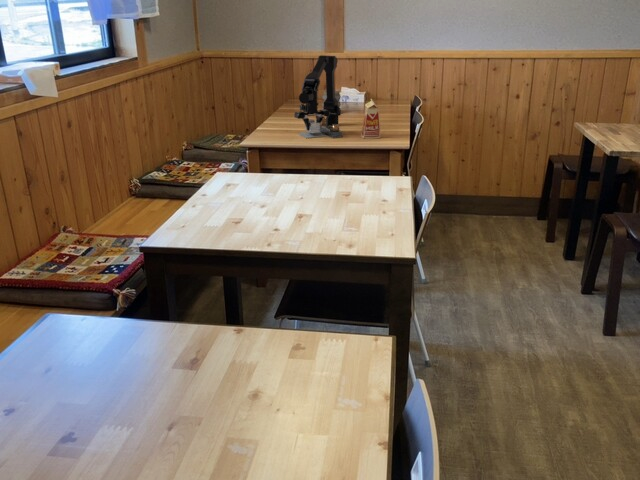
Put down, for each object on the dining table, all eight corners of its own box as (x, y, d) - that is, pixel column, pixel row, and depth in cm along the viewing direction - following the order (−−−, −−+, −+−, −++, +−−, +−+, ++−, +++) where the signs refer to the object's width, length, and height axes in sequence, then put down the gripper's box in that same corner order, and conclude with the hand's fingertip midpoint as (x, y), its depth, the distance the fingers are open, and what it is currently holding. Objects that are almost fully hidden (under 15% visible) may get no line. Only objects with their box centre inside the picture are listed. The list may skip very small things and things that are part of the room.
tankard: (341, 114, 370) (341, 90, 364) (321, 114, 370) (321, 90, 364) (340, 109, 388) (341, 86, 383) (322, 109, 389) (322, 86, 383)
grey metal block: (305, 130, 317) (305, 119, 314) (313, 129, 318) (313, 118, 316) (311, 133, 310) (310, 122, 308) (319, 132, 312) (319, 121, 309)
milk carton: (361, 135, 315) (361, 98, 307) (377, 135, 315) (379, 97, 308) (363, 139, 306) (364, 100, 298) (380, 138, 307) (382, 100, 299)
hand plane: (316, 130, 327) (316, 117, 324) (325, 129, 329) (325, 117, 326) (332, 138, 308) (332, 125, 306) (342, 137, 311) (342, 124, 308)
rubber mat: (318, 132, 322) (318, 131, 322) (326, 136, 312) (326, 135, 312) (298, 134, 318) (298, 133, 318) (306, 138, 308) (306, 137, 308)
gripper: (321, 97, 318) (322, 125, 324) (290, 99, 311) (291, 128, 317) (330, 100, 309) (330, 129, 315) (298, 103, 302) (298, 132, 308)
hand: (312, 129), depth 314 cm, fingers closed on grey metal block, 5 cm apart
